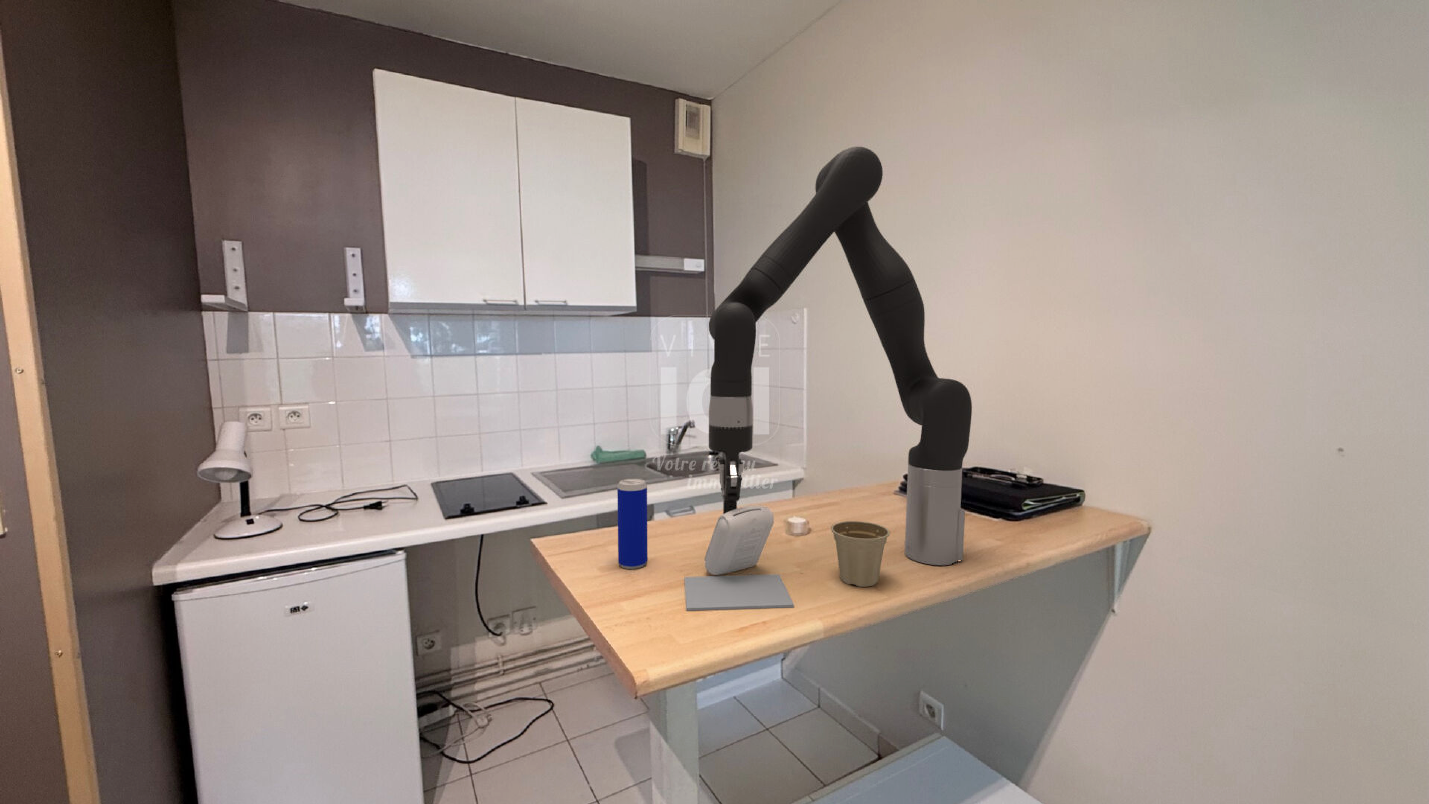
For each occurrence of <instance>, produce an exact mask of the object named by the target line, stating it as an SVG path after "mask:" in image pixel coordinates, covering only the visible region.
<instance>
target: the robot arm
mask: <svg viewBox="0 0 1429 804" xmlns="http://www.w3.org/2000/svg"><path fill="white" fill-rule="evenodd" d="M883 175H884V173H883V166H882V162H881V160H880V158H879V157H878V155H877V154H876V153H875V152H874V151H872V150H871V149H869V148H867V147H864V146H852V147H848V148H847V149H844V150H842V151H841V152H839V153H837V154H835V156H834V157H833V158H831V160H830V161H828V162H827V163H826V164H825V165H824V166H823V167H822V168H821V169H820V171H819V172H818V175H817V177H816V180H815V188H814V189H815V195H814V196H813V197H812V198H811V200H810V201H809V202H808V204H807V205H806V206H805V207H804V209H802V211H801V212H800V214H798V216H797V217H796V218H795V219H794V220H793V221H792V222H790V224H789V225H788V226H787V227H786V228H785V229H784V230H783V231H782V232H781V233H780V234H779V235H778V236H777V237H776V238H775V240H774V241H772V243H771V244H770V245H769V246H768V247H767V249H765V250H764V252H763V253H762V254H761V255H760V256H759V258H758V259H757V260H756V262H755V263H753V265H752V266H751V267H750V269H749V270H748V272H747V273H746V274H745V276H744V277H743V279H742V280H741V282H740V283H739V284H738V285H737V286H736V287H735V288H734V289H733V290H732V291H731V292H730V293H729V294H728V295H727V296H726V298H725V299H724V300H723V301H722V302H721V303H720V304H719V305H718V306H717V308H716V309H714V311H713V312H712V314H711V316H710V318H709V321H708V331H709V334H710V336H711V338H712V339H713V341H714V343H713V344H714V345H713V349H714V350H713V356H714V357H713V364H712V365H711V369H710V394H709V395H710V397H709V406H708V448H709V450H710V451H711V452H716V453H722V454H721V455H722V456H721V457H722V458H718V459H717V465H718V466H717V467H718V471H719V485H720V491H721V498H722V500H723V502H722V504H723V505H722V506H723V507H722V509H723V510H722V511H723V513H722V515H723V514H725V513H727V512H729V511H731V510H734V509H738V505H737V504H738V503H737V502H738V501H740V498H741V488H742V481H743V477H742V474H743V471H744V463H743V461H742V459H741V458H740V455H739V454H740V453H747V452H750V451H751V450H752V449H753V443H754V441H753V435H754V433H753V432H754V431H753V430H754V427H753V426H754V425H753V423H754V408H753V399H752V397H753V396H752V394H753V393H752V389H753V388H752V387H753V381H752V379H753V378H752V377H753V376H752V375H753V374H752V366H753V359H754V354H755V348H756V347H755V346H756V338H757V322H758V321H759V320H760V318H761V317H762V316H763V315H764V313H765V312H766V311H767V310H768V309H770V308H771V307H772V306H774V305H775V304H776V303H777V302H778V301H779V300H780V299H781V298H782V297H783V296H784V295H785V294H786V292H787V291H788V289H789V288H790V287H791V285H793V283H794V282H795V281H796V279H798V277H799V276H800V274H801V273H802V272H803V271H804V269H805V268H806V267H807V266H808V264H809V263H810V261H812V259H813V258H814V256H815V255H816V254H817V252H819V250H820V249H821V248H822V246H823V245H824V244H825V243H826V242H827V240H829V238H831V236H833V235H834V234H835V236H836V237H837V240H838V242H839V243H840V245H841V249H842V250H843V252H844V254H845V257H846V260H847V262H848V266H849V268H850V270H851V273H852V275H853V277H854V280H855V283H856V285H857V287H858V290H859V293H860V296H861V298H862V300H863V304H864V305H865V308H866V310H867V312H868V315H869V318H870V320H871V322H872V324H873V327H874V328H875V331H876V334H877V336H878V339H879V341H880V343H881V346H882V348H883V350H884V353H885V355H886V357H887V359H888V362H889V364H890V368H891V371H892V374H893V377H894V380H895V381H894V382H895V384H896V388H897V391H898V395H899V398H900V402H901V404H902V407H903V408H902V409H903V410H904V413H905V414H906V416H907V417H908V418H909V419H910V420H911V421H912V422H913V423H915V424H918V425H919V426H921V431H920V432H921V433H920V439H919V442H918V444H917V445H914V446H912V447H910V448H909V451H908V454H907V455H908V456H907V457H908V459H907V484H906V485H907V486H906V507H905V511H906V513H905V531H904V532H905V535H904V555H905V556H906V557H907V558H909V559H911V560H913V561H915V562H918V563H922V564H924V565H925V564H927V565H933V566H948V565H953V564H952V563H954V562H956V561H958V560H962V559H963V560H964V543H965V542H964V541H965V524H966V523H965V522H966V521H965V520H966V510H965V509H963V508H962V507H961V502H962V501H961V500H962V481H963V464H964V463H963V462H964V458H965V457H966V454H967V452H968V449H969V444H970V436H971V435H970V434H971V426H972V413H973V406H972V405H973V402H972V398H971V397H972V396H971V394H970V391H969V389H968V388H967V387H966V385H965V384H963V383H962V382H960V381H959V380H956V379H951V378H944V377H941V378H940V377H938V375H937V373H936V371H935V370H934V368H933V367H934V366H933V365H932V363H931V360H930V358H929V355H928V353H927V349H926V344H925V326H926V324H925V323H926V322H925V321H926V319H925V318H926V317H925V313H926V312H925V304H924V301H923V297H922V295H921V292H920V289H919V287H918V285H917V282H916V279H915V277H914V275H913V272H912V271H911V269H910V267H909V265H908V264H907V262H906V261H905V260H904V259H903V257H902V256H901V255H900V254H899V253H898V252H897V251H896V249H895V248H894V247H893V246H892V245H891V244H890V243H889V242H888V240H886V238H885V237H884V236H883V234H882V233H881V231H880V229H879V227H878V226H877V224H876V221H875V219H874V216H873V213H872V211H871V207H870V204H869V201H871V200H872V199H873V197H875V196H876V194H877V192H879V189H880V187H881V183H882V181H883ZM958 562H959V561H958ZM956 563H957V562H956ZM954 564H955V563H954Z"/></svg>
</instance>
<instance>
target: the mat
mask: <svg viewBox="0 0 1429 804" xmlns="http://www.w3.org/2000/svg"><path fill="white" fill-rule="evenodd" d="M684 591H685V592H684V594H685V605H686V606H685V611H687V612H690V611H691V612H692V611H695V612H696V611H718V610H719V611H721V610H722V611H723V610H746V609H747V610H748V609H749V610H750V609H751V610H753V609H754V610H755V609H779V608H780V609H785V608H795V604H794V601H793V600H792V598H791V596H790V594H789V592H788V589H787V588H786V585H785V583H784V582H783V579H782V577H781V575H780V574H779V573H778V574H776V573H775V574H749V575H748V574H747V575H745V574H744V575H739V574H738V575H710V576H709V575H708V576H684Z"/></svg>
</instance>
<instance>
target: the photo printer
mask: <svg viewBox="0 0 1429 804" xmlns="http://www.w3.org/2000/svg"><path fill="white" fill-rule="evenodd" d="M774 519H775V517H774V512H773V511H772V510H771V509H770V507H768V506H764V505H747V506H742V507H739V508H738V507H737V509H734V510H731V511H729V512H727V513H725V514H723V513H722V515H720V516H719V518H718V519H717V521H716V524H715V527H714V530H713V532H712V536H711V539H710V540H709V541H710V542H709V545H708V547H707V550H706V552H705V556H704V568H705V570H706V571H707V572H708V573H709V574H711V575H713V576H722V575H725V574H729V573H733V572H737V571H740V570H744V569H748V568H752V567H754V566H756V565H757V564H758V562H759V560H760V557H761V555H762V552H763V551H764V548H765V545H766V543H767V540H768V538H769V535H770V534H771V531H772V529H773V527H774V523H775V521H774Z"/></svg>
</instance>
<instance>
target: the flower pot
mask: <svg viewBox="0 0 1429 804" xmlns="http://www.w3.org/2000/svg"><path fill="white" fill-rule="evenodd" d="M830 530H831V532H832V533H833V534H832V535H833V538H834V539H833V540H834V541H835V545H836V553H837V555H836V556H837V562H838V563H837V564H838V570H839V572H838V573H839V578H840V581H842V582H843V583H845V584H846V585H854V586H855V585H856V586H857V587H860V588H861V587H863V588H864V587H865V588H866V587H867V588H868V587H873V586H876V585H877V583H878V582H879V578H880V571H881V566H882V560H883V555H884V549H885V548H884V547H885V545H886V543H887V540H888V537H890V535H891V533H890V532H891V531H890V530H889V529H888V528H887V527H885V526H883V525H880V524H878V523H873V522H870V521H869V522H868V521H863V520H862V521H860V520H843V521H840V522H835V523H833V524H832V525H831V527H830Z"/></svg>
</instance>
